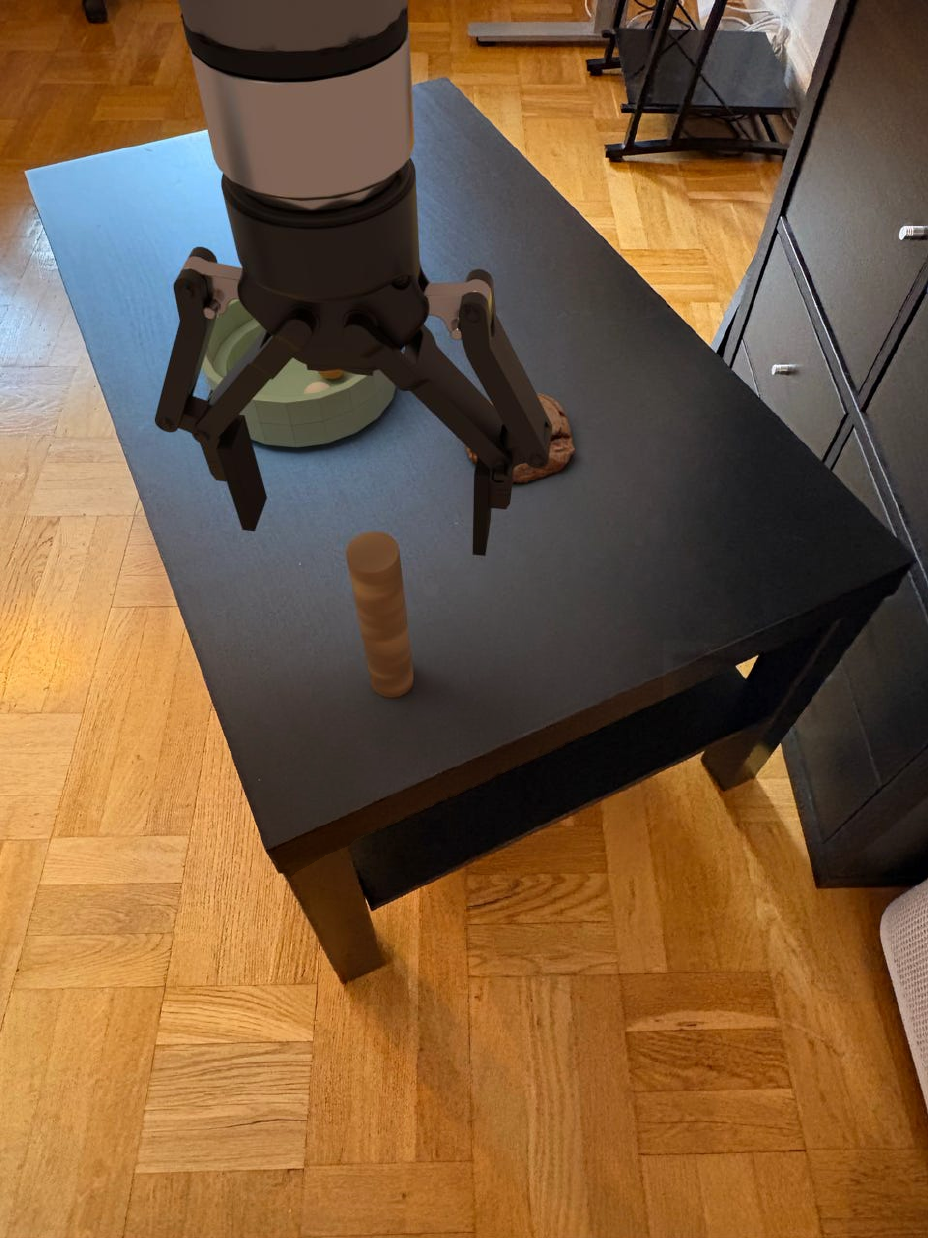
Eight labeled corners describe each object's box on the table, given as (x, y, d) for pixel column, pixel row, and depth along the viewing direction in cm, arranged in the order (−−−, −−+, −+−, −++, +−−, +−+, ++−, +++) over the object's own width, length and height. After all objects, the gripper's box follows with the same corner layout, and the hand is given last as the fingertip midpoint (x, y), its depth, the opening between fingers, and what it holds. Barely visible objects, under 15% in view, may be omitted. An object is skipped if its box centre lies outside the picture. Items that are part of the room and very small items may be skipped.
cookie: (574, 406, 79) (577, 381, 77) (572, 489, 73) (576, 464, 71) (468, 401, 80) (468, 375, 77) (458, 482, 74) (458, 458, 71)
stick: (367, 695, 62) (340, 569, 50) (375, 658, 64) (351, 528, 51) (410, 700, 62) (394, 575, 49) (416, 663, 63) (403, 533, 51)
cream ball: (347, 392, 77) (329, 400, 75) (334, 417, 79) (316, 426, 77) (322, 371, 77) (303, 379, 75) (310, 396, 79) (291, 405, 77)
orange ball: (326, 366, 77) (323, 389, 80) (354, 357, 79) (350, 380, 81) (309, 344, 78) (307, 367, 81) (337, 335, 80) (334, 358, 82)
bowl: (189, 444, 77) (169, 392, 72) (243, 324, 87) (229, 271, 82) (378, 461, 75) (372, 409, 71) (411, 337, 85) (407, 284, 80)
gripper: (646, 134, 33) (582, 499, 51) (45, 92, 35) (183, 459, 53) (644, 241, 29) (575, 599, 47) (-39, 187, 31) (141, 552, 48)
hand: (367, 525), depth 50 cm, fingers open, 13 cm apart
